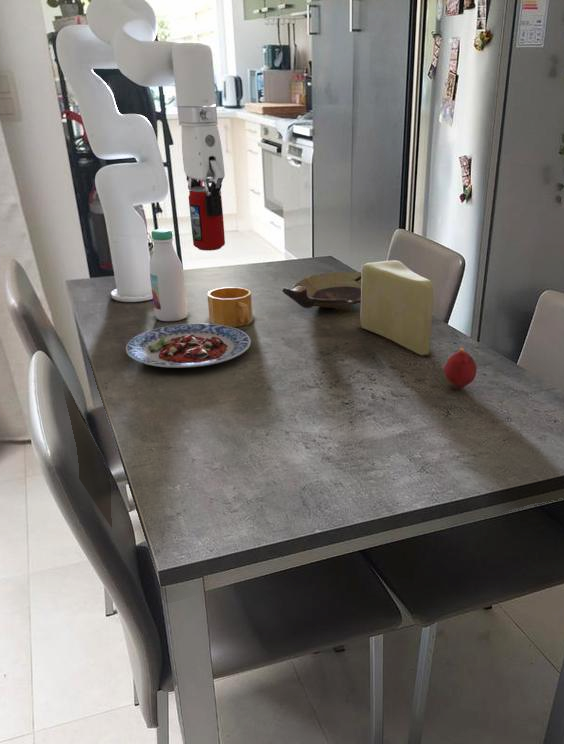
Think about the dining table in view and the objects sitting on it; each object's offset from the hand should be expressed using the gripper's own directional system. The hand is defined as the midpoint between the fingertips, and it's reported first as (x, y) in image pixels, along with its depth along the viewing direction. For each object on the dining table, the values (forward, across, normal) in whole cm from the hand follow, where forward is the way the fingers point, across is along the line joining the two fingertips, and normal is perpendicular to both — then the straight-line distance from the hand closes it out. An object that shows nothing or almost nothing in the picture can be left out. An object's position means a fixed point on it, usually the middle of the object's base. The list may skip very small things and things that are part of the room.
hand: (206, 212), depth 145 cm
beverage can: (+7, 0, 0) cm, 7 cm away
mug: (+26, +4, -7) cm, 27 cm away
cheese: (+26, -28, -31) cm, 49 cm away
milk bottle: (+26, +16, +4) cm, 31 cm away
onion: (+26, -55, -23) cm, 65 cm away
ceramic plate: (+26, -9, +11) cm, 30 cm away
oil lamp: (+26, +3, -32) cm, 42 cm away
